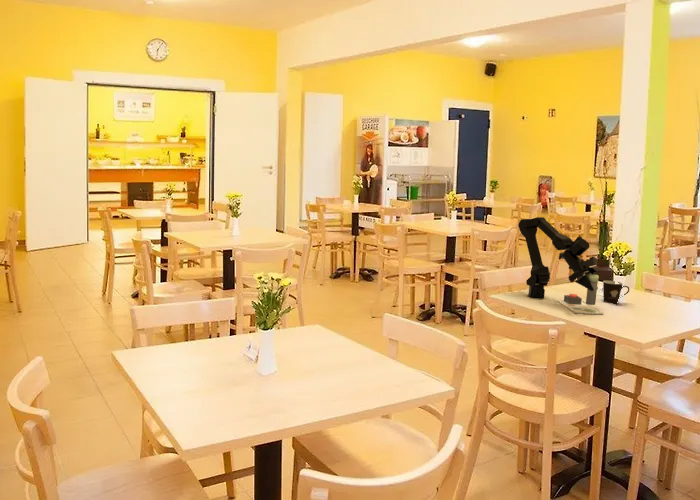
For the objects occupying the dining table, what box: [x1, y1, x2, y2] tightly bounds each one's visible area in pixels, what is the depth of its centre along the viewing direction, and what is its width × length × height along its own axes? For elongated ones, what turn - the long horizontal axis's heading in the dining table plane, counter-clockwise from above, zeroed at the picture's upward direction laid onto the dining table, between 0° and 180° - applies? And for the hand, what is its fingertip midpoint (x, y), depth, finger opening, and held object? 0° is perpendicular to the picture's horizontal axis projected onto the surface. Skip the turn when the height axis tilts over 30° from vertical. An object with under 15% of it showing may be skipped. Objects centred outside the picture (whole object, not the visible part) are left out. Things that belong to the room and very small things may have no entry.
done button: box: [568, 293, 578, 298], centre depth 331 cm, size 4×4×2 cm
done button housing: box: [563, 294, 583, 304], centre depth 331 cm, size 6×6×3 cm
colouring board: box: [556, 300, 604, 316], centre depth 323 cm, size 13×23×1 cm, turn 4°
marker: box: [585, 274, 600, 306], centre depth 315 cm, size 4×4×13 cm
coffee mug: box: [602, 280, 630, 305], centre depth 337 cm, size 12×9×10 cm
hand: (595, 289), depth 314 cm, fingers closed on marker, 4 cm apart
